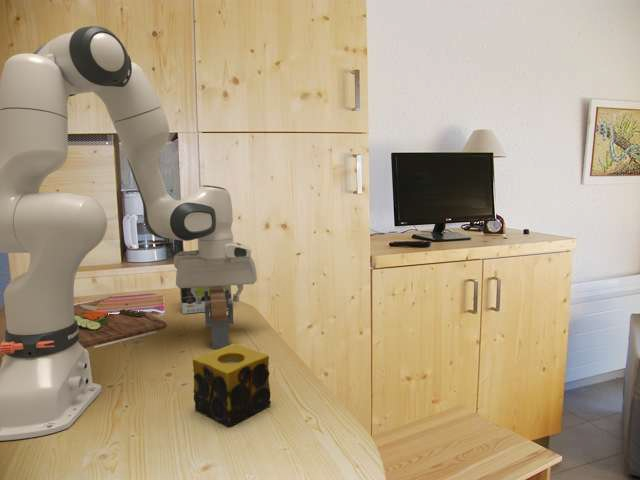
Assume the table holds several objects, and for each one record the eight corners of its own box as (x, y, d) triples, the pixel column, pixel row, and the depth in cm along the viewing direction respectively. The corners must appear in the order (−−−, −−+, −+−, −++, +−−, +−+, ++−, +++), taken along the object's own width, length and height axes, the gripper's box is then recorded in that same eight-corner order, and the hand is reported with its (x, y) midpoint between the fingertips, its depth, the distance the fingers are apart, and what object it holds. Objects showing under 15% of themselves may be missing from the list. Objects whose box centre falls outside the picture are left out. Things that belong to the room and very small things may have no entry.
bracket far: (230, 329, 132) (229, 290, 131) (205, 331, 131) (204, 291, 129) (229, 324, 136) (228, 286, 134) (205, 326, 134) (204, 288, 133)
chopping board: (21, 316, 147) (20, 306, 146) (111, 299, 165) (110, 291, 165) (70, 356, 115) (69, 344, 114) (175, 330, 133) (174, 319, 133)
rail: (226, 320, 117) (226, 300, 116) (211, 322, 116) (211, 301, 115) (222, 299, 136) (222, 282, 135) (209, 300, 135) (209, 283, 134)
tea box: (227, 302, 160) (226, 258, 158) (232, 310, 150) (230, 263, 148) (180, 306, 155) (178, 260, 153) (181, 315, 146) (179, 266, 144)
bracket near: (234, 347, 119) (232, 303, 117) (206, 349, 117) (204, 305, 116) (233, 341, 123) (231, 299, 121) (206, 344, 121) (204, 301, 119)
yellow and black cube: (236, 390, 95) (234, 342, 94) (272, 406, 89) (271, 354, 88) (192, 410, 88) (190, 357, 86) (229, 429, 81) (227, 372, 80)
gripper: (172, 253, 118) (175, 308, 120) (256, 249, 123) (258, 303, 125) (173, 249, 124) (176, 302, 126) (254, 246, 129) (255, 296, 131)
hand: (217, 302), depth 125 cm, fingers open, 8 cm apart
